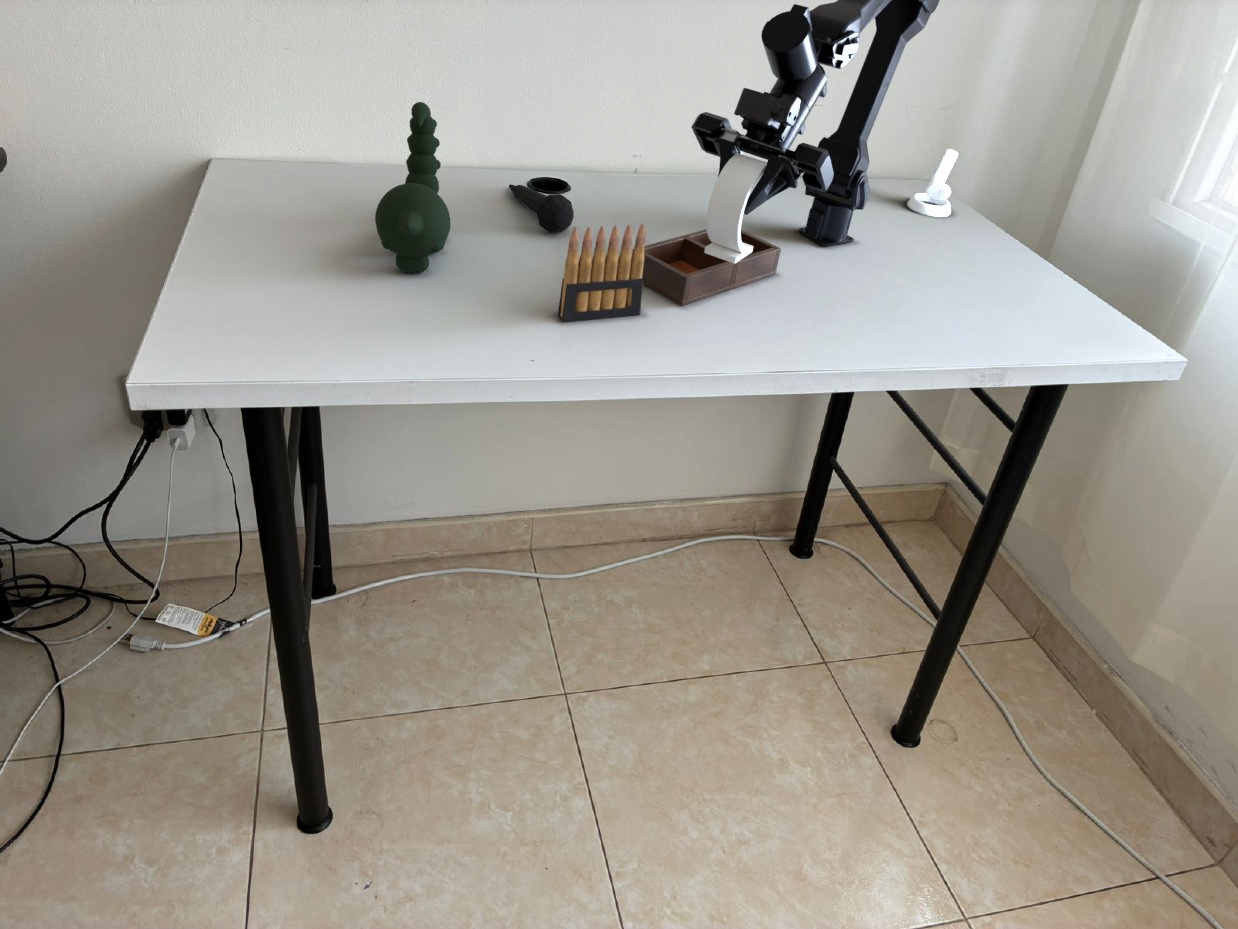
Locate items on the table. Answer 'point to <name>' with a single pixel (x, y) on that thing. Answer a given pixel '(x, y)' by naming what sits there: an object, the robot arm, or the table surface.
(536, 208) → the microphone
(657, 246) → the divided wooden tray
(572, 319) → the ammunition clip
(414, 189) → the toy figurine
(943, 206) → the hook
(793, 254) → the table surface
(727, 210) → the headphone stand
